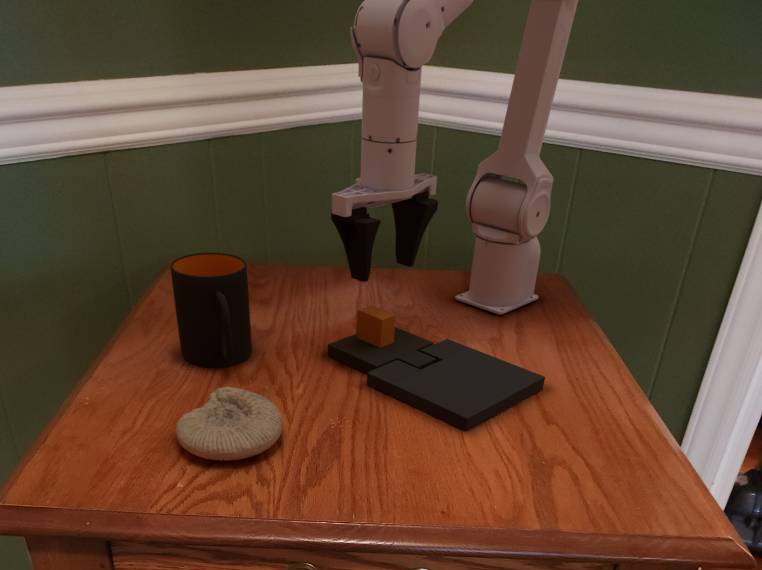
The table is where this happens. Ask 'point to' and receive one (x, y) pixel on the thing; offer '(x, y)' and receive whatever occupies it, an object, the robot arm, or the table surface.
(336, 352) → the black pad
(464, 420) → the charcoal mat
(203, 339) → the mug
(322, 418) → the table surface
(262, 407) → the fossil
